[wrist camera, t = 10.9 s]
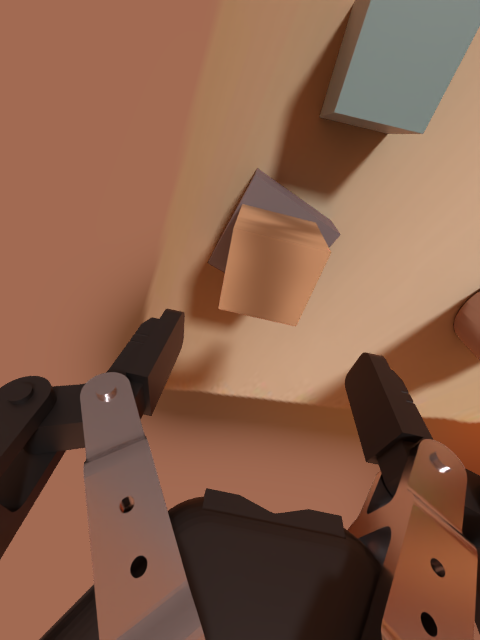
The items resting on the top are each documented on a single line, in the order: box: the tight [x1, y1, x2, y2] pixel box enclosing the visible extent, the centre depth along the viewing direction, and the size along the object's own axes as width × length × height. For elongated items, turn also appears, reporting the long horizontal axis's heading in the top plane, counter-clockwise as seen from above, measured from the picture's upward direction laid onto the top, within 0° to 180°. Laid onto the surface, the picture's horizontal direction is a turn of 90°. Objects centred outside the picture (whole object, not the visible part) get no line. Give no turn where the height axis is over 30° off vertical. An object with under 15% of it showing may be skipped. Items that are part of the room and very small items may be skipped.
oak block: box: [218, 204, 331, 326], centre depth 17 cm, size 6×6×6 cm
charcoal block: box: [208, 168, 340, 273], centre depth 21 cm, size 8×8×4 cm
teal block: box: [320, 0, 480, 134], centre depth 13 cm, size 5×5×5 cm
